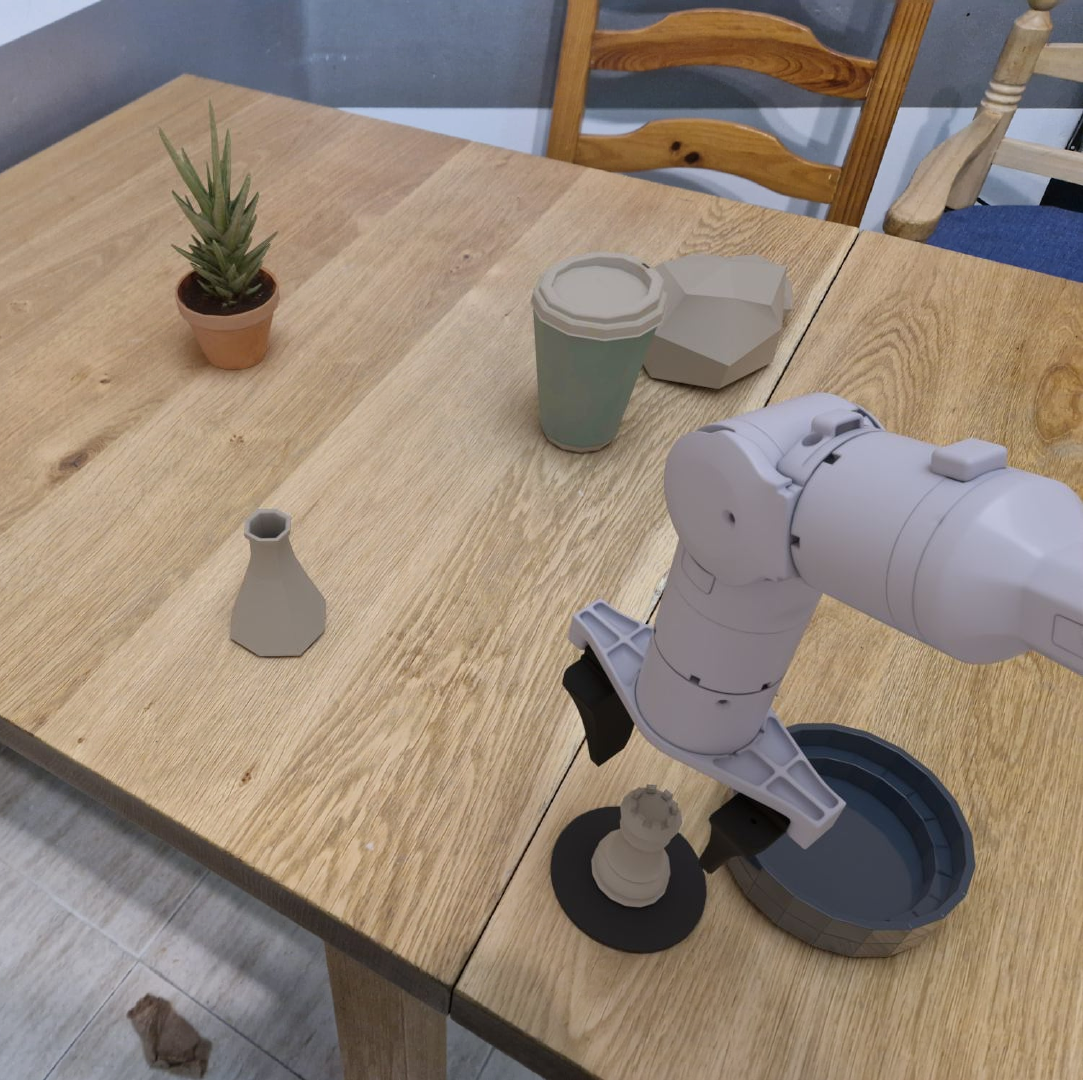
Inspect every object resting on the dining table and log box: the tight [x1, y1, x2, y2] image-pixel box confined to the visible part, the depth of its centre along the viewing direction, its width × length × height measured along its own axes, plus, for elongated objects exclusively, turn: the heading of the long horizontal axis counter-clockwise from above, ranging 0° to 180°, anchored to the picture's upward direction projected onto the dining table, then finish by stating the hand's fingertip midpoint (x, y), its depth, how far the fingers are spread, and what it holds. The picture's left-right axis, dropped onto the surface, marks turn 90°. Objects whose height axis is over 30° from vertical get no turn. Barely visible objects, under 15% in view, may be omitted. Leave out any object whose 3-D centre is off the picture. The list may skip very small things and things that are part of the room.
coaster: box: [550, 805, 707, 954], centre depth 59 cm, size 9×9×1 cm
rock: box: [642, 252, 794, 390], centre depth 94 cm, size 18×20×10 cm
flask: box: [229, 508, 327, 657], centre depth 70 cm, size 7×7×10 cm
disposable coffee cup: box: [529, 250, 667, 454], centre depth 83 cm, size 11×11×15 cm
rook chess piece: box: [591, 783, 683, 907], centre depth 56 cm, size 4×4×8 cm
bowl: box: [720, 722, 977, 958], centre depth 59 cm, size 13×13×4 cm
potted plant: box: [156, 97, 281, 370], centre depth 89 cm, size 10×10×25 cm
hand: (659, 804), depth 53 cm, fingers open, 7 cm apart
